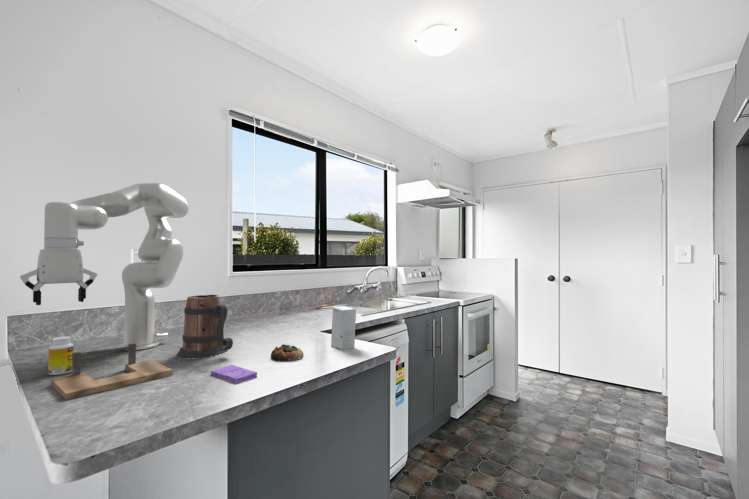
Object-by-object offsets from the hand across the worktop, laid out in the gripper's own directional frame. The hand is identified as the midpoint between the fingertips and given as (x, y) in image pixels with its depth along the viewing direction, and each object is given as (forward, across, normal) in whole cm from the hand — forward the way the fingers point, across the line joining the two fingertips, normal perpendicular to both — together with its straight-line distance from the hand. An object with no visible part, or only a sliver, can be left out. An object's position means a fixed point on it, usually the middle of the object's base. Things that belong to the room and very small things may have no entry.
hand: (60, 303), depth 108 cm
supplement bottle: (+21, 0, 0) cm, 21 cm away
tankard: (+21, -38, +12) cm, 45 cm away
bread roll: (+21, -54, +36) cm, 68 cm away
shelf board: (+20, -9, +19) cm, 29 cm away
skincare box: (+21, -76, +41) cm, 89 cm away
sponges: (+21, -32, +41) cm, 56 cm away
